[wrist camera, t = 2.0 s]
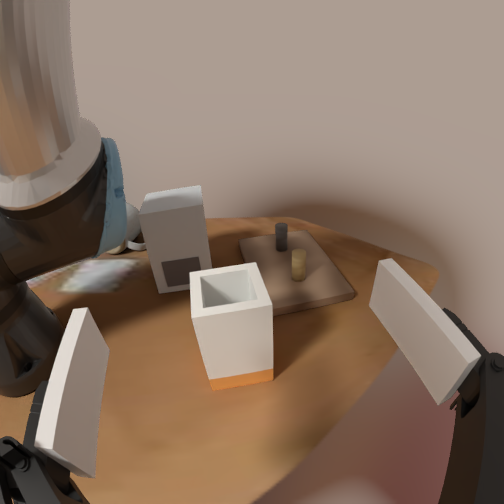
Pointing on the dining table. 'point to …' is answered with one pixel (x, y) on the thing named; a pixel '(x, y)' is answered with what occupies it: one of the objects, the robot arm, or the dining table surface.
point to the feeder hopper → (175, 236)
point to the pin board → (282, 270)
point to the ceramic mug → (130, 231)
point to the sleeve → (233, 325)
